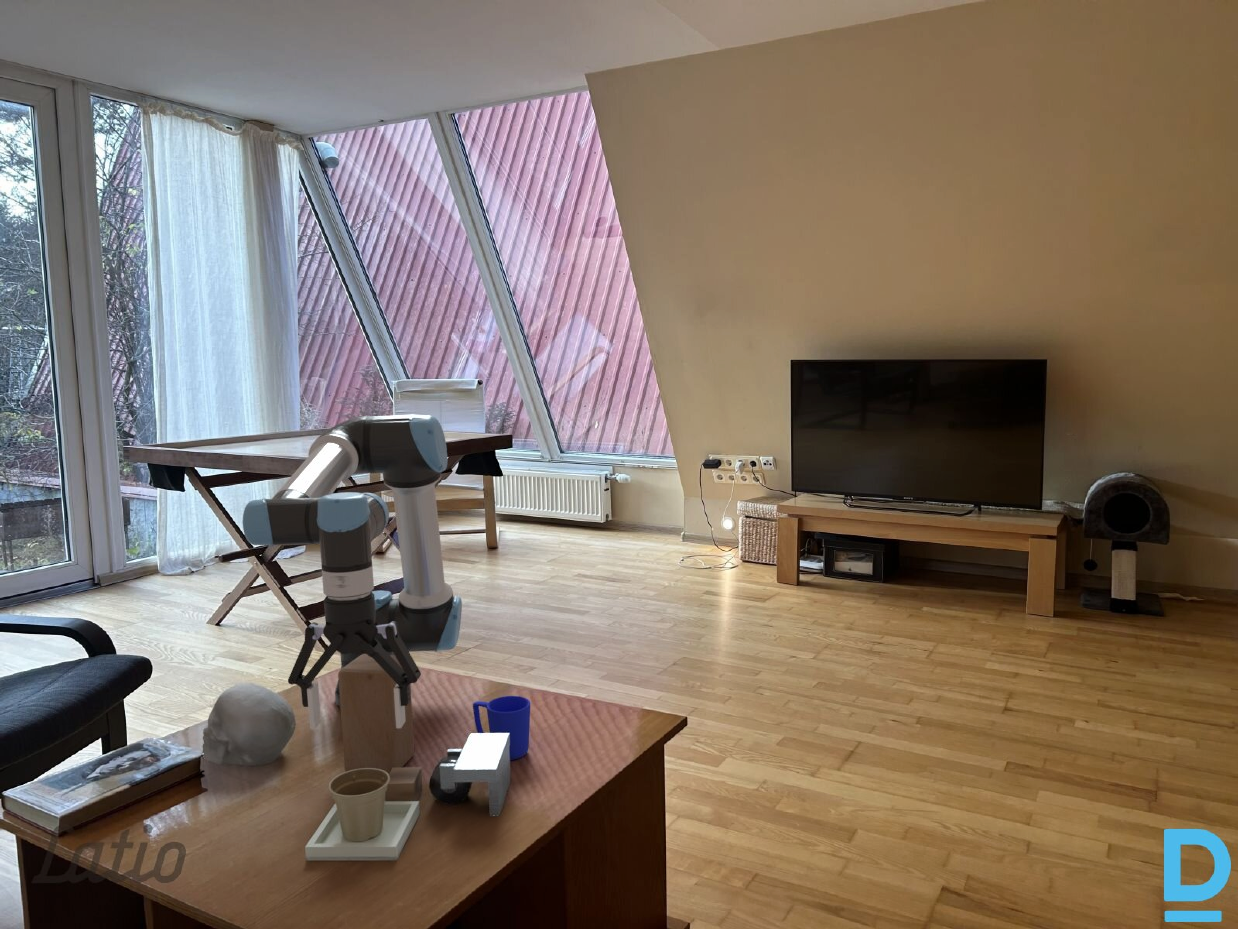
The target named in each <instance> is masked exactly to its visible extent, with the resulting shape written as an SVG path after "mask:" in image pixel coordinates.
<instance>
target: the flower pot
mask: <svg viewBox="0 0 1238 929" xmlns="http://www.w3.org/2000/svg"><path fill="white" fill-rule="evenodd" d="M389 782H390V776H389V774H388V773H387V772H386V771H384V770H381V769H376V768H360V769H354V770H350V771H347V772H346V771H344V772H341V773H340V774H337V775H336V776H334V777H333V778H332V779H331V780H330V782H329V783H328V791H329V793H330V794H331V796H332V798H333V800H334V802H335V803H336V807H337V811H338V816H339V820H340V825H341V830H342V835H343V836H344V837H345V838H346V839H347V840H349V841H366V840H368V839H369V838H371V837H376V836H377V835H379V834H380V833H381V831H382V829H383V815H384V803H385V792H386V790H387V785H388V784H389ZM335 803H334V804H335Z"/></svg>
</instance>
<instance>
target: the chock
mask: <svg viewBox="0 0 1238 929" xmlns="http://www.w3.org/2000/svg"><path fill="white" fill-rule="evenodd" d="M389 776H390V782H389V784H388V785H387V790H386V792H385V801H420V800H419V799H420V797H421V795H422V793H423V791H424V790H423V777H422V776H423V775H422V766H413V767H412V766H409V767H408V766H406V767H405V766H403V767H399V768H392V770H391V772H390V774H389Z"/></svg>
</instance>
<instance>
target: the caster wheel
mask: <svg viewBox="0 0 1238 929" xmlns="http://www.w3.org/2000/svg"><path fill="white" fill-rule="evenodd" d="M509 746H510V733H490V732H484V733H478V732H472V733H471V732H470V734H469V735H468V738H467V739H466V742H465V744H464V746H463V748H448V749H447V751H446V754H447V755H446V756H444V757H442V758H441V759H440V760H438V762H437V763H436V766H435V768H434V769H433V771H432V773H431V775H430V778H429V782H428V783H429V784H428V787H429V791H430V793H431V795H432V796H433V798H434V799H435V800H436V801H438V802H440V803H442V804H444V805H451V806H452V805H457V804H459V803H461V802H463V801H464V800H465V799H466V798H467V797H468V795H469V793H470V792H471V789H472V786H473V784H474V783H487V784H488V785H487V786H488V787H487V788H488V805H489V806H488V808H489V809H488V810H489V816H490V815H491V816H490V817H500V816H501V813H500V812H502V810H503V807H504V803H505V800H506V798H507V795H508V792H507V790H508V791H509V789H508V788H510V786H511V785H510V784H511V783H510V782H512V781H511V780H512V778H511V760H510V755H509ZM509 785H510V786H509ZM506 794H507V795H506ZM505 797H506V798H505ZM501 809H502V810H501ZM493 815H495V816H493ZM497 815H498V816H497ZM499 815H500V816H499Z"/></svg>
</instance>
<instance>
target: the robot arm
mask: <svg viewBox="0 0 1238 929" xmlns="http://www.w3.org/2000/svg"><path fill="white" fill-rule="evenodd" d="M447 451H448V448H447V442H446V436H445V432H444V430H443V427H442V424H441V423H440V422H439V420H438V419H437V418H436V417H435V416H433V415H430V414H429V415H428V414H416V413H411V414H397V415H396V414H394V415H375V416H374V415H361V416H356V417H353V418H350V419H347V420H344V421H341V422H340V423H338V424H335V425H334V426H332V427H330V428H329V429H327V430H326V431H324V432H323V433H321V434H320V435H319V436H318V437H317V438H316V439H315V440H314V441H313V443H311V446H310V447H309V449H308V456H307V458H305V460H304V461H303V462H302V464H300V466H299V467H298V468H297V469H296V470H295V471H294V473H293V474H292V475H291V476H290V477H289V478H288V480H287V481H286V482H285V483H284V484H283V486H282V487H281V488H280V489H279V490H278V491H277V492H276V493H275V495H274V496H273V497H272V498H262V499H253V500H250V501H249V502H247V503H246V505H245V507H244V510H243V514H242V529H243V535H244V537H245V538H246V541H247V542H248V543H249V544H251V545H252V546H253V545H254V546H269V547H274V546H293V545H294V546H296V545H297V546H298V545H313V544H314V545H319V548H320V550H319V551H320V561H321V564H320V565H321V577H322V578H321V579H322V591H323V594H324V595H325V598H324V599H323V607H324V608H323V609H324V619H325V625H320V624H318V623H317V622H314V621H313V622H312V623H311V624H310V625H308V626H307V627H306V628H305V630H304V641H303V644H302V646H301V649H300V650H299V654H298V655H297V657H296V660H295V663H294V665H293V668H292V670H291V672H290V674H289V675H288V679H287V682H288V684H289V685H296V686H298V687H300V692H301V703H302V706H303V707H304V708H308V718H309V719H308V720H309V721H308V722H309V729H310V730H315V729H316V728H318V726H319V725H320V724H321V722H322V720H321V719H322V718H321V706H320V705H321V704H320V693H319V692H320V691H319V682H314V680H315V679H316V677H317V676H318V675H319V673H320V672H321V671H323V668H324V667H325V666H326V665H327V663H328V662H329V661H330V660H331V658H332V657H333V656H334V655H335V653H336V652H337V653H340V666H341V667H340V670H341V669H342V668H343V667H345V666H346V665H348V664H349V663H350V662H352V661H353V660H355V659H356V658H357V657H359V656H360V655H362V654H367V655H368V656H369V657H372V658H373V659H374V660H375V661H376V662H377V663H378V664H379V665H380V666H381V667H382V668H383V669H384V671H385V672H386V673H387V674H388V675H389V676H390V677H391V678H392V679H393V680H394V681H395V682H396V683H397V684H396V686H395V687H394V702H395V718H396V728H401V727H402V726H403V724H404V723H405V721H406V720H405V706H407V705H408V703H409V702H410V685H411V684H415V683H417V681H419V680H420V677H421V675H422V672H421V671H420V669H419V667H418V666H417V663H416V662H415V660H414V659H413V656H412V655H411V652H435V653H436V652H439V651H451V650H453V649H454V648H455V647H456V646H457V643H458V640H459V635H460V629H461V622H462V612H463V610H462V609H463V607H462V604H463V602H462V597H460V596H457V595H454V591H453V588H452V586H451V585H450V584H448V583H447V582H445V573H444V565H443V555H442V554H443V553H442V545H441V544H442V543H441V534H440V526H439V525H440V524H439V516H438V505H437V496H436V486H435V485H436V484H437V483H438V482H439V481H440V480H441V478H442V473H443V472H444V471H446V469H447V468H448V452H447ZM358 474H359V475H360V474H361V475H362V474H382V478H383V483H384V485H385V486H386V487H388V488H389V489H391V490H392V498H393V505H394V506H393V507H394V512H395V522H396V528H397V537H398V539H397V540H398V547H399V553H400V554H399V555H400V562H401V570H402V579H403V587H404V588H402V590H401V591H400V592H399V594H398V598H394V597H393V595H392V592H391V591H389V590H375V585H374V572H373V571H374V570H373V569H374V568H373V557H372V556H373V555H372V541H373V540H374V539H376V538H377V537H379V536H380V535H381V534H382V533H383V532H384V530H385V529H386V527H387V525H388V522H389V519H390V511H389V507H388V505H387V503H386V502H385V501H384V499H383V498H382V497H380V496H379V495H378V494H375V493H372V492H350V491H348V492H346V491H345V492H336V493H335V491H336V489H337V488H338V487H339V486H340V484H341V482H342V481H345V480H348V479H349V478H350V477H351V476H353V475H358ZM322 635H323V636H324V637H325V639H327V641H328V642H329V645H328V646H327V647H326V649H325V650H324V652H323V653H322V655H320V657H319V658H318V659H317V661H315V663H314V664H313V666H312V667H311V668H310V670H309V671H307V673H306V675H304V674H303V673H304V672H305V669H306V667H307V664H308V663H309V659H310V657H311V654H312V652H313V651H314V648H315V646H316V643H317V641H318V640H319V639H320V638H321V637H322ZM390 655H395V656H396V658H397V660H398V661H399V663H400V665H401V667H402V668H403V669H402V668H401V667H400V666H399V665H398V663H397V662H396V661H395V660H394V659H393V658H392V657H391V656H390ZM334 702H335V704H336V705H337V706H338V707H339V708H340V694H339V679H337V683H336V687H335V691H334Z"/></svg>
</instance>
